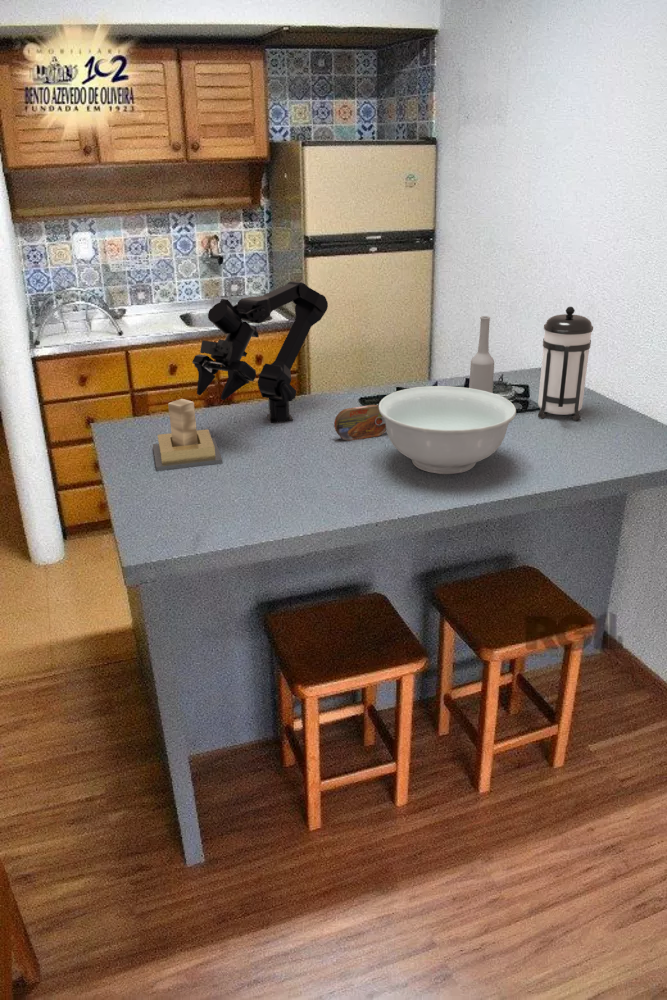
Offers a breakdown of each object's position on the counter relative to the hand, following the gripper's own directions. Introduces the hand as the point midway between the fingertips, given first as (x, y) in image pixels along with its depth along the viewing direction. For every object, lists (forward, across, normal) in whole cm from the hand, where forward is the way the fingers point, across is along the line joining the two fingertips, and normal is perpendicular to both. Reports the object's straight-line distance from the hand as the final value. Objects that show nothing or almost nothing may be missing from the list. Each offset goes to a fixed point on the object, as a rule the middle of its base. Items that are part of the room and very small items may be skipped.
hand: (210, 396), depth 197 cm
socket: (+16, -1, +3) cm, 16 cm away
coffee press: (-39, +58, +68) cm, 98 cm away
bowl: (-6, +52, +32) cm, 61 cm away
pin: (+15, -1, +2) cm, 15 cm away
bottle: (-30, +41, +56) cm, 76 cm away
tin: (-8, +25, +32) cm, 41 cm away
